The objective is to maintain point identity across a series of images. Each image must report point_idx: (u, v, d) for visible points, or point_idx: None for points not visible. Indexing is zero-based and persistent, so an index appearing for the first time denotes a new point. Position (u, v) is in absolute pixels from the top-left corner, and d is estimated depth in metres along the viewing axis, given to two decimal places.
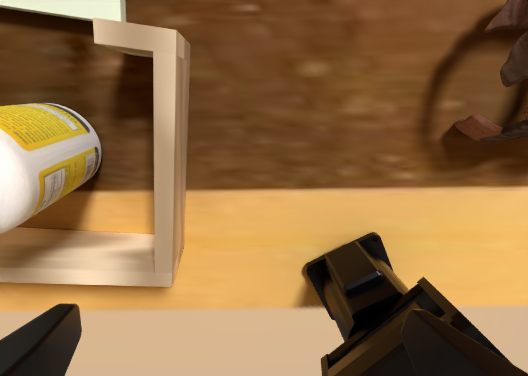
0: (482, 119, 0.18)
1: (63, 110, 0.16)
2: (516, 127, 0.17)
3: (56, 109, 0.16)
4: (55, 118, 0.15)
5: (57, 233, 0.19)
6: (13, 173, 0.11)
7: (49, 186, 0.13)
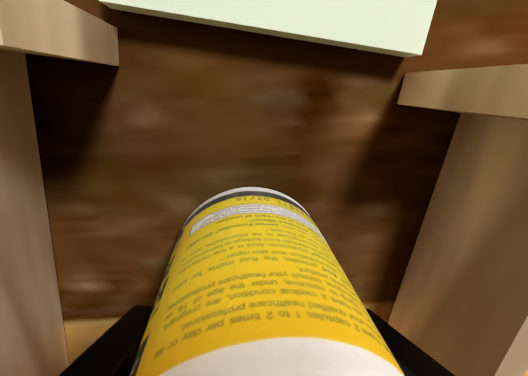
0: None
1: (293, 205, 0.09)
2: None
3: (292, 209, 0.09)
4: (317, 235, 0.08)
5: None
6: None
7: None
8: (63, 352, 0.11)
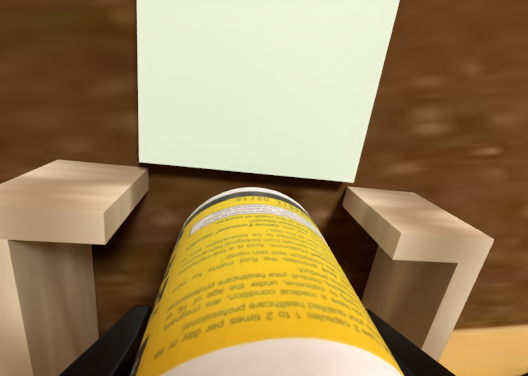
0: None
1: (293, 205, 0.09)
2: None
3: (292, 209, 0.09)
4: (317, 235, 0.08)
5: None
6: None
7: None
8: None
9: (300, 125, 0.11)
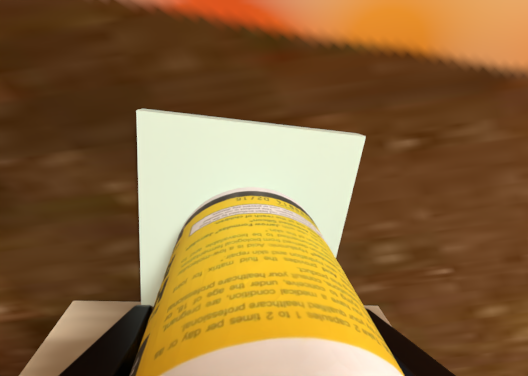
0: None
1: (293, 205, 0.09)
2: None
3: (292, 209, 0.09)
4: (317, 236, 0.08)
5: None
6: None
7: None
8: None
9: None
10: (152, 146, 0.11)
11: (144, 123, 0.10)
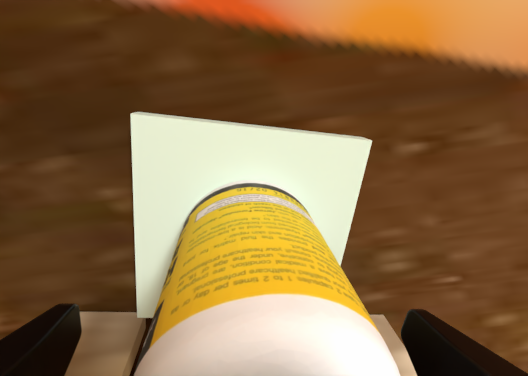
0: None
1: (288, 196, 0.10)
2: None
3: (287, 199, 0.10)
4: (309, 222, 0.09)
5: None
6: None
7: None
8: None
9: None
10: (147, 151, 0.10)
11: (139, 127, 0.10)
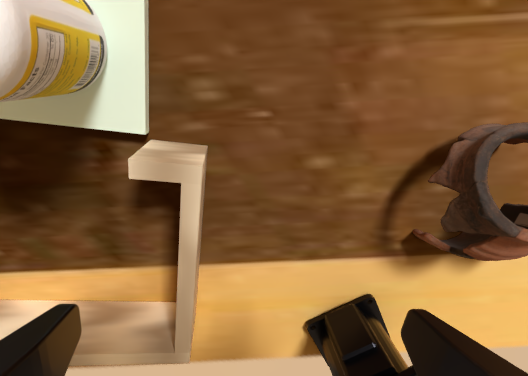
0: (433, 238, 0.21)
1: None
2: (460, 254, 0.20)
3: None
4: None
5: (79, 306, 0.21)
6: None
7: (43, 47, 0.10)
8: None
9: (90, 89, 0.15)
10: None
11: None
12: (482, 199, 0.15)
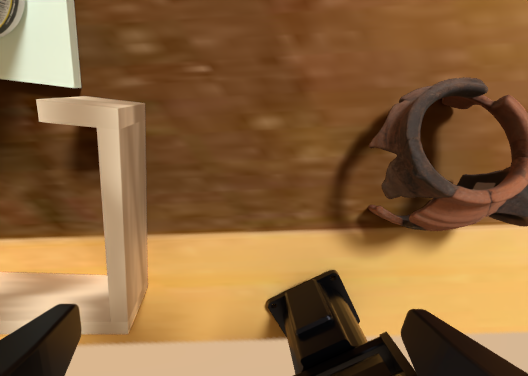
0: (385, 211, 0.20)
1: None
2: (409, 225, 0.18)
3: None
4: None
5: (21, 277, 0.20)
6: None
7: None
8: None
9: (12, 37, 0.15)
10: None
11: None
12: (415, 157, 0.14)
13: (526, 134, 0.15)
